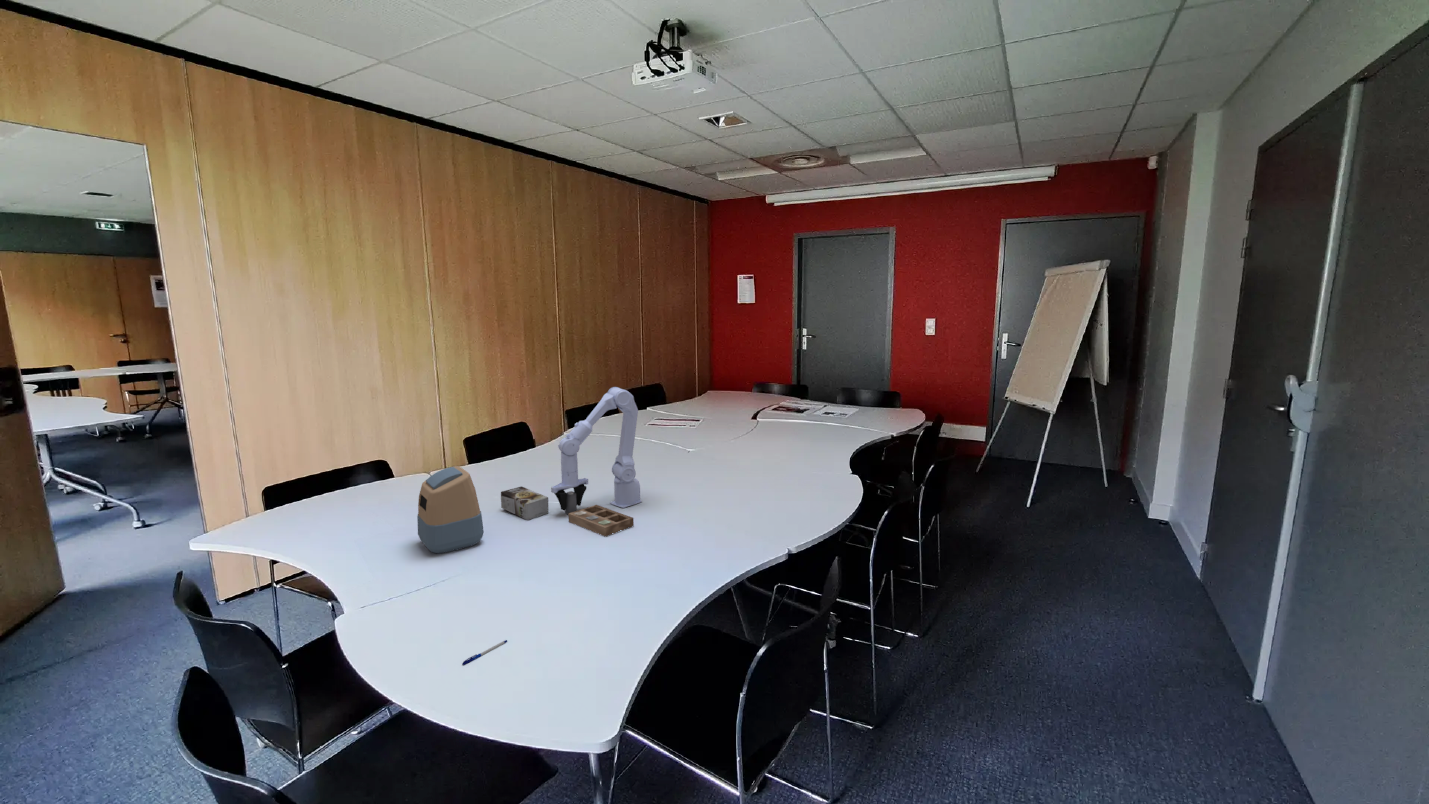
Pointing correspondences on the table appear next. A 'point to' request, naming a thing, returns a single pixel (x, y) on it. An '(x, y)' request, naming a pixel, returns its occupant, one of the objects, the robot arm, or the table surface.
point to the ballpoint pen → (482, 653)
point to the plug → (571, 502)
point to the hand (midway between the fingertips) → (570, 507)
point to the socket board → (601, 520)
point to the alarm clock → (449, 511)
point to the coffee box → (524, 502)
